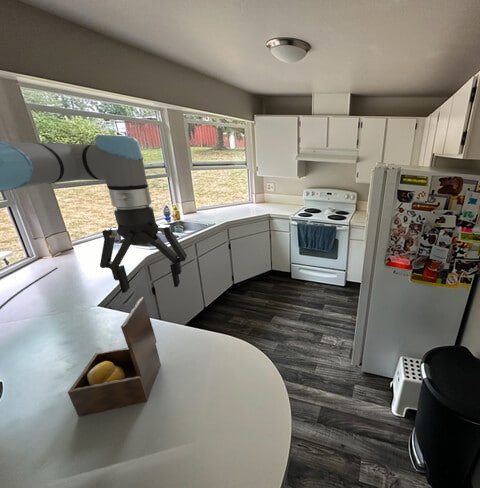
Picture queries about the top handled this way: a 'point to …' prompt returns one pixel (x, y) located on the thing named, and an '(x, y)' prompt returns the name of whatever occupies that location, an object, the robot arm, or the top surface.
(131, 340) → the bin lid
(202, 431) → the top surface
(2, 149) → the robot arm
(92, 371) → the bread roll
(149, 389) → the bin
